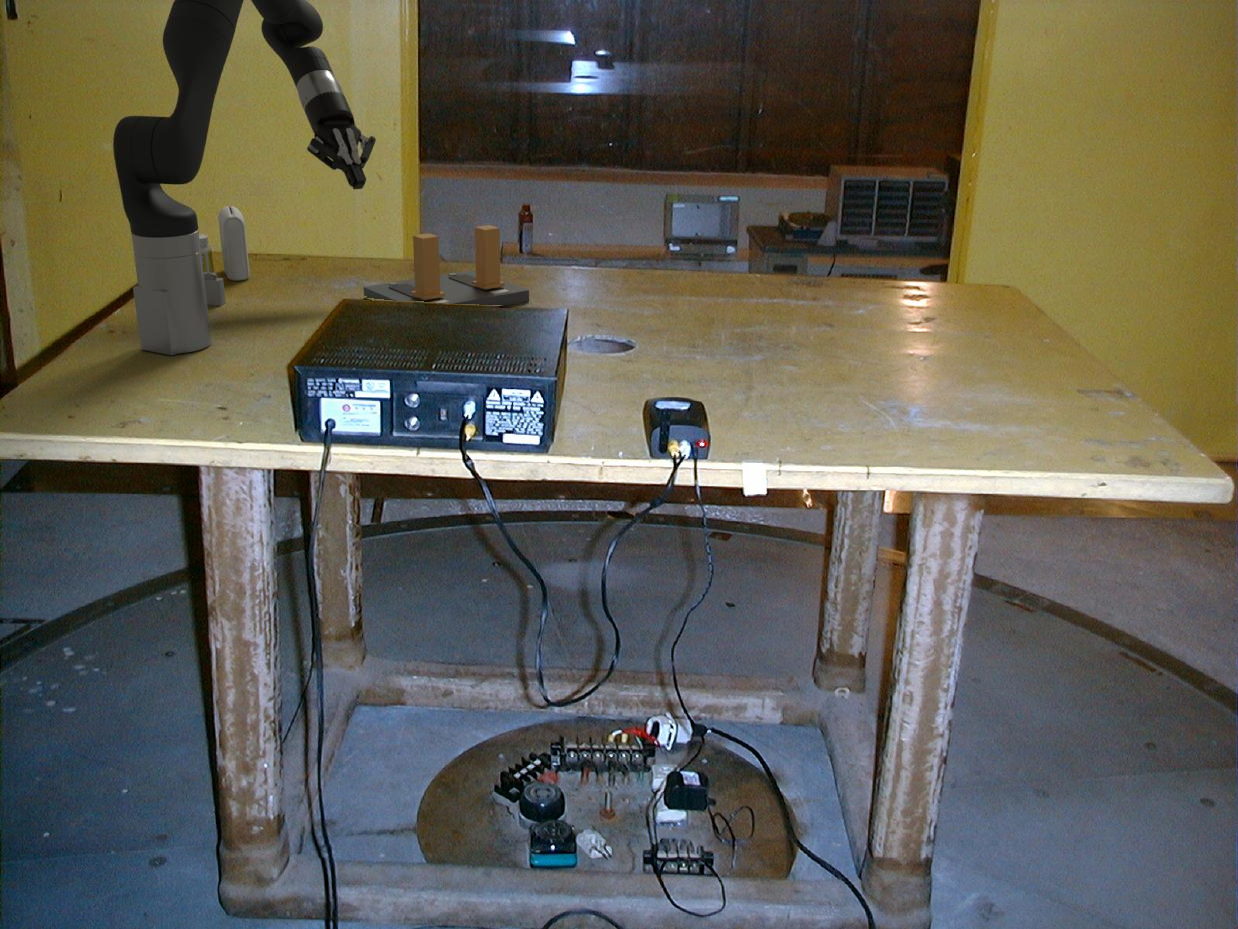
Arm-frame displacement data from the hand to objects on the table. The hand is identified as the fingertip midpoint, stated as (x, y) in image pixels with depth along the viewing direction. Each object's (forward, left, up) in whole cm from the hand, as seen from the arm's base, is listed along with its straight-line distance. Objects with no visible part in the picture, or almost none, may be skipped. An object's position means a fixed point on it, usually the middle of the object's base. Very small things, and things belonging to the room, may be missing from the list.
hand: (359, 186), depth 210 cm
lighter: (-23, +17, -18) cm, 33 cm away
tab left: (-8, -19, -15) cm, 25 cm away
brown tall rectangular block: (+3, -24, -15) cm, 28 cm away
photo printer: (-5, +26, -18) cm, 32 cm away
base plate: (-1, -17, -18) cm, 25 cm away
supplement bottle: (-13, +27, -18) cm, 34 cm away
